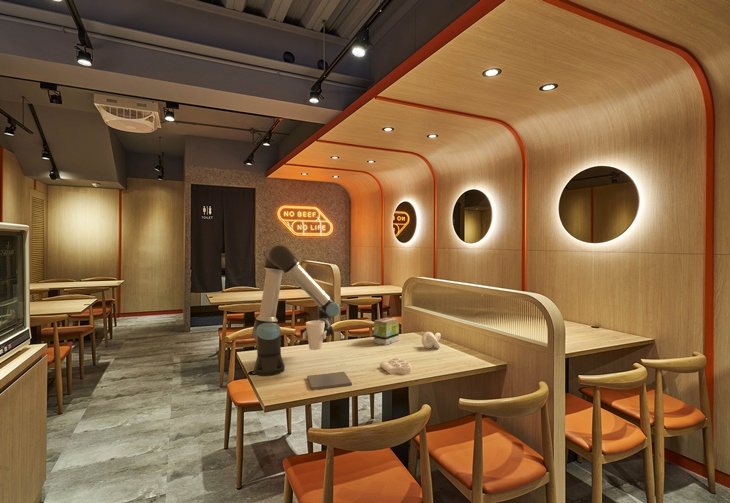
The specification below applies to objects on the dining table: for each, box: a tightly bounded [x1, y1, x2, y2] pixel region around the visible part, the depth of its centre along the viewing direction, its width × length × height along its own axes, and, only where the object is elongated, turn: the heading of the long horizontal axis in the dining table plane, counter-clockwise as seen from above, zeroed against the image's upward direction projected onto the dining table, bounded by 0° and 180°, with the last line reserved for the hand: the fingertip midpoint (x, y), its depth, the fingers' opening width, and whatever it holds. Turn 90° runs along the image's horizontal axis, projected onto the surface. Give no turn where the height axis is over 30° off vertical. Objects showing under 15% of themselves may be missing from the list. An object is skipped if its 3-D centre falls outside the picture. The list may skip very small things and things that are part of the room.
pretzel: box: [421, 331, 441, 349], centre depth 233 cm, size 11×12×9 cm
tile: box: [306, 371, 353, 391], centre depth 177 cm, size 18×16×1 cm
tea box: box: [373, 316, 400, 346], centre depth 248 cm, size 15×10×15 cm, turn 143°
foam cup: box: [305, 320, 325, 351], centre depth 192 cm, size 10×9×13 cm
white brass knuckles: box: [379, 357, 414, 375], centre depth 194 cm, size 3×18×15 cm
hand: (313, 336), depth 187 cm, fingers closed on foam cup, 9 cm apart
